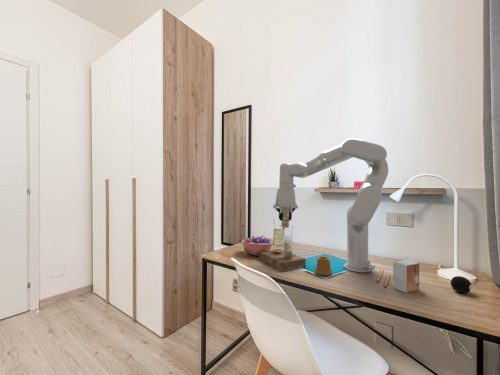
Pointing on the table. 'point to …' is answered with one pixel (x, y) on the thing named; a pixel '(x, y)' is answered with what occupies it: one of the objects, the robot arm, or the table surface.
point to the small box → (406, 275)
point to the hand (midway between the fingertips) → (285, 220)
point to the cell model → (256, 245)
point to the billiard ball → (461, 284)
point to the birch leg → (285, 218)
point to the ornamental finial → (323, 266)
